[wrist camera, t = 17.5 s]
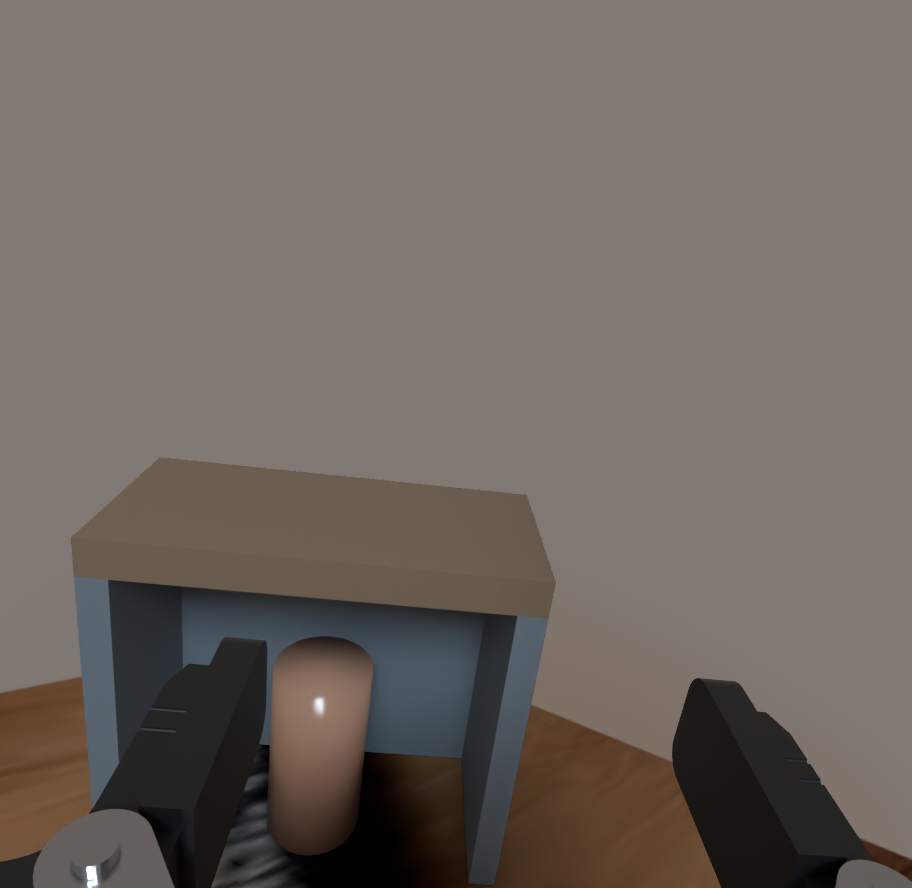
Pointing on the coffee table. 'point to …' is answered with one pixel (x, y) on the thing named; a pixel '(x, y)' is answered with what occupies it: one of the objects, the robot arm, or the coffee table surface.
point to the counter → (324, 609)
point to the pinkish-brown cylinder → (317, 743)
